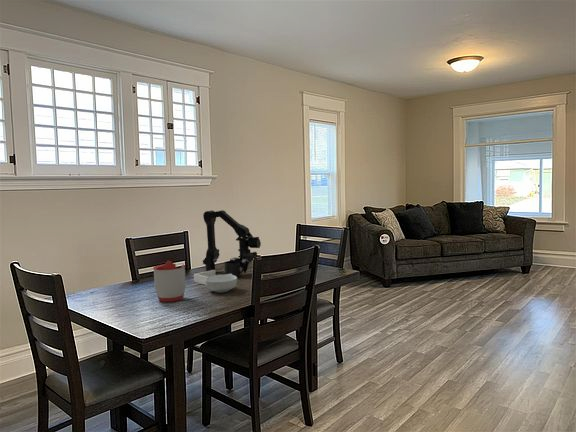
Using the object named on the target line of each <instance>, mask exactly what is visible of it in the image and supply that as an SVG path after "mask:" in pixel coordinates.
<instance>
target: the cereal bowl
mask: <svg viewBox="0 0 576 432" xmlns="http://www.w3.org/2000/svg"><path fill="white" fill-rule="evenodd" d="M205 283H206V285H205V286H206V288H207V289H209V290H210V291H211V292H214V293H218V294H219V293H222V294H223V293H228V292H229V291H230V290H232V289H234V288H235V287H236V285H237V283H238V278H237V277H236V276H234V275H227V274H225V273H224V274H216V275H214V276H210V277H207V278H206V279H205Z"/></svg>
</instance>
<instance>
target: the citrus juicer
mask: <svg viewBox="0 0 576 432" xmlns="http://www.w3.org/2000/svg"><path fill="white" fill-rule="evenodd" d="M185 266H186V265H185V264H181V266H180V267H177V265H176V263H174V262H172V261H171V260H167V261H166V262H165V263H164V264H158V265H156V266H153V268H152V269H153V277H154V278H153V281H154V289H155V293H156V296H157V299H158V300H159V302H163V303H164V302H165V303H173V302H177V301H180V300H183V298H184V296H185V291H186V269H185Z"/></svg>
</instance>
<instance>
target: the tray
mask: <svg viewBox="0 0 576 432" xmlns="http://www.w3.org/2000/svg"><path fill="white" fill-rule="evenodd" d="M215 271H216V269H215V270H211V271H206V270H205V271H201V272H198V273H193V281H194V283H198V284H201V285H205V286H206V283H205V279H206V278H207V277H210V276H214V275H217V272H216V273H215ZM227 275H232V274H227Z"/></svg>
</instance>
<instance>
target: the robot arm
mask: <svg viewBox="0 0 576 432" xmlns="http://www.w3.org/2000/svg"><path fill="white" fill-rule="evenodd" d="M202 215H203V220H204V223H205V226H206V236H207V250H206V252H205V253H206V254H205V257H204V259H203V260H202V264H203V265H204V266H205V272H206V271H211V270H215V273H216V274H217V273H218V271H216V264H215V263H216V262H217V261H218V259H219V258H220V256H221V255H220V249H219V248H218V247H217V246H216V232H215V230H216V229H215V224H216V221H217V218H221V220H222V221H224V222H225V223H226V224H227V225H229V226H230V227H231V228H232V229H233V230H234V232H235V234H236V235H237V236H238V237H237V238H236V239H235V241H237V242H238V243H239V244H238V245H239V246H238V247H239V249H237V250H238V252H239V255H238V256H237V257H231V258H230V259H229V261H230V263H238V262H239V263H240V266H242V267H243V269H244V270H243V273H245V274H246V273H247V271H248V268H249V264H250V263H252V261H254V260H253V258H254V257H255V256H259V255H258V253H257V251H253V252H251V249H260V247H261V243H262V242H261V240H260V237H259V236H253V235H252V233H251V232H250V229H249V228H248V227H247V226H246V225H244V224H241V223H239V222H238V221H237V220H236V219H234V218H233V217H232V216H231V215H229V214H228V213H227V212H226V210H224V209H222V210H217V211H214V210H213V209H212V210H207V211H205V212H204V213H203V214H202ZM217 248H218V249H217Z"/></svg>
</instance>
